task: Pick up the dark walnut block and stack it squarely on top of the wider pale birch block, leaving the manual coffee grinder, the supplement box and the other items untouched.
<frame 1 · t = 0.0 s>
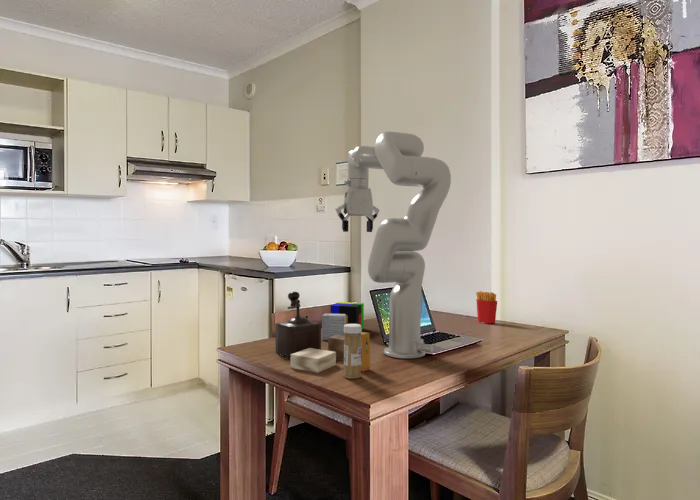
hand: (357, 231, 178), 37 cm above the table, tool pointing down, fingers open, 9 cm apart
medicine box: (334, 340, 169), on the table
sprinkles bottle: (352, 377, 125), on the table
supplement box: (361, 370, 132), on the table
puzzle toy: (347, 331, 185), on the table
walnut block: (339, 357, 145), on the table
birch block: (313, 367, 135), on the table
manual coffee grinder: (294, 352, 151), on the table
french fries: (485, 323, 203), on the table
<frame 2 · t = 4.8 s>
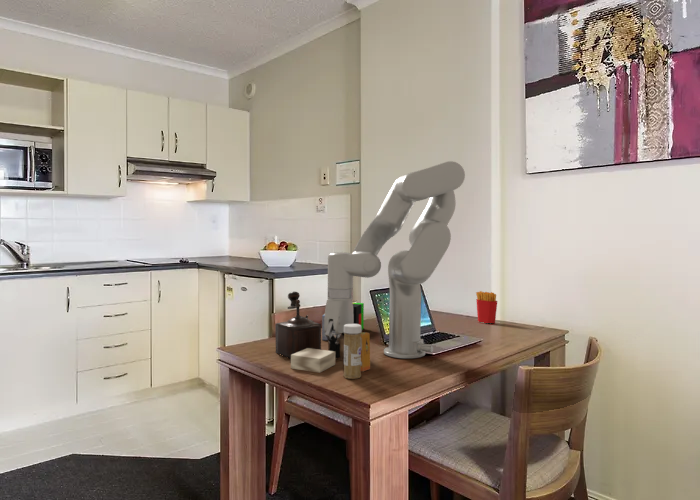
hand: (339, 354, 145), 1 cm above the table, tool pointing down, fingers closed on walnut block, 5 cm apart
walnut block: (339, 357, 145), on the table, touching gripper
everything else where it was.
when the fingers open (6 cm above the table, at t = 9.6 s): walnut block drops 1 cm, point 4 cm above the table.
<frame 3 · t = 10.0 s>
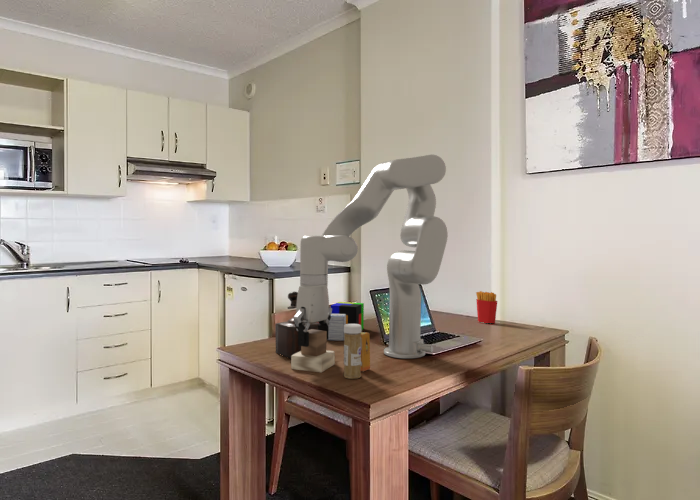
hand: (313, 342, 135), 7 cm above the table, tool pointing down, fingers open, 9 cm apart
walnut block: (313, 353, 135), point 4 cm above the table
everything else where it was.
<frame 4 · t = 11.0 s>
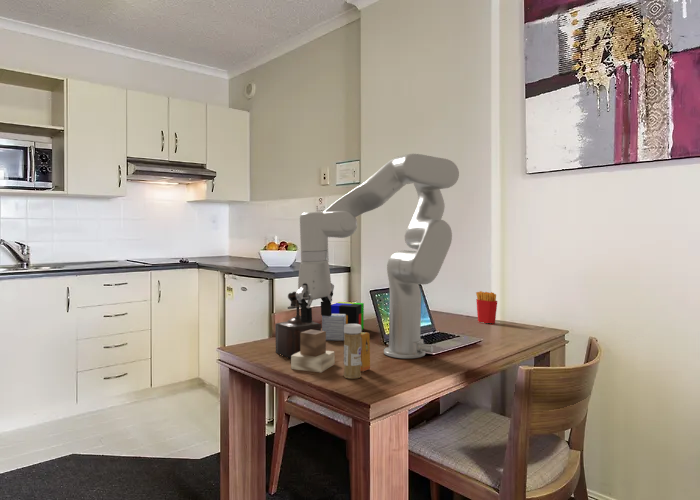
hand: (316, 319, 135), 13 cm above the table, tool pointing down, fingers open, 9 cm apart
walnut block: (313, 353, 135), point 4 cm above the table, touching birch block
birch block: (313, 367, 135), on the table, touching walnut block
everything else where it was.
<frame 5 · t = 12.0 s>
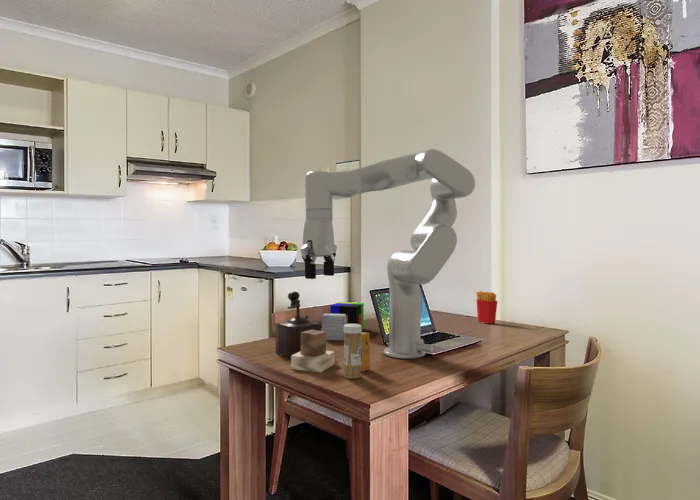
hand: (320, 277, 137), 24 cm above the table, tool pointing down, fingers open, 9 cm apart
nothing on the table moved.
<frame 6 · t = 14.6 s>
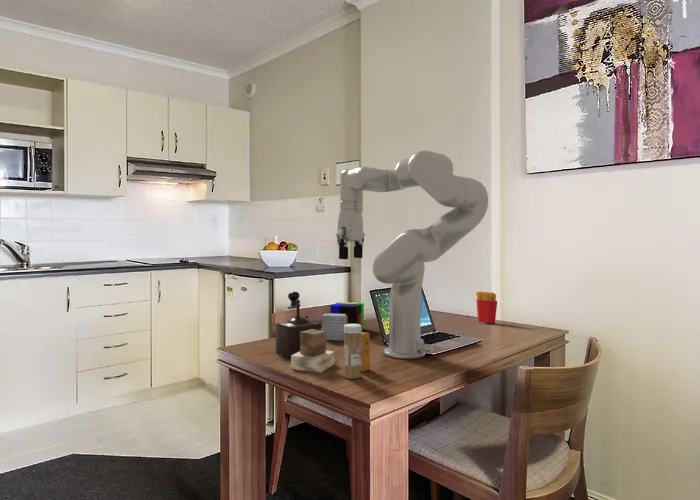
hand: (350, 258, 164), 28 cm above the table, tool pointing down, fingers open, 9 cm apart
nothing on the table moved.
at the end: walnut block inside the target area on the birch block (0.2 cm from its centre), point 4.0 cm above the birch block's base; walnut block tilted 0°; walnut block touching birch block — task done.
